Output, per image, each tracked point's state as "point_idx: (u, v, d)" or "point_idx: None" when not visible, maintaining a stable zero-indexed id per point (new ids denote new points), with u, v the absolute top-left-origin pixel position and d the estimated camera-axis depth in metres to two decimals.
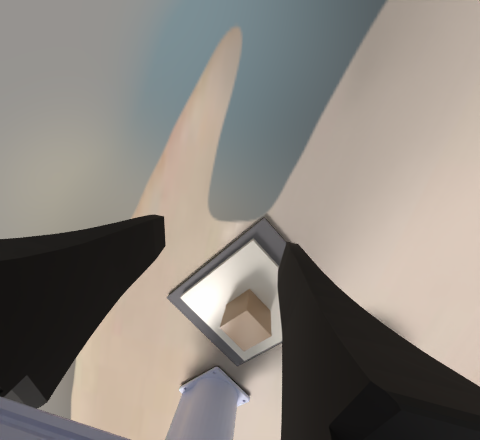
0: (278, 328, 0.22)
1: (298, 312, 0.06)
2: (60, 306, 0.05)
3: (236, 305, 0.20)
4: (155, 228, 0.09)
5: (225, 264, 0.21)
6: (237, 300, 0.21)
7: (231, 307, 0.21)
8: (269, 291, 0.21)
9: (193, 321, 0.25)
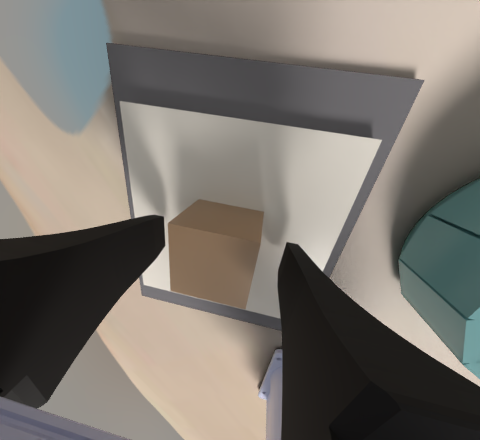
0: (305, 234, 0.10)
1: (298, 312, 0.06)
2: (60, 306, 0.05)
3: None
4: (155, 228, 0.09)
5: (134, 188, 0.11)
6: None
7: None
8: (230, 176, 0.10)
9: (194, 306, 0.16)
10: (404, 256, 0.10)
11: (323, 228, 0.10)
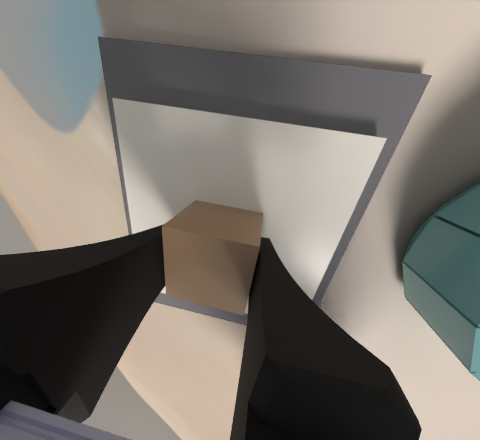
0: (306, 236, 0.10)
1: (254, 302, 0.06)
2: (105, 318, 0.05)
3: None
4: None
5: (129, 188, 0.10)
6: None
7: None
8: (228, 176, 0.09)
9: (192, 309, 0.15)
10: (408, 259, 0.10)
11: (325, 230, 0.10)
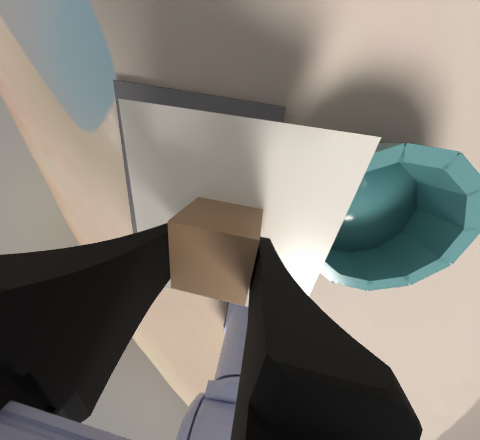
0: (304, 232, 0.10)
1: (255, 302, 0.06)
2: (105, 318, 0.05)
3: None
4: None
5: (134, 186, 0.11)
6: None
7: None
8: (229, 173, 0.10)
9: None
10: None
11: (322, 225, 0.10)
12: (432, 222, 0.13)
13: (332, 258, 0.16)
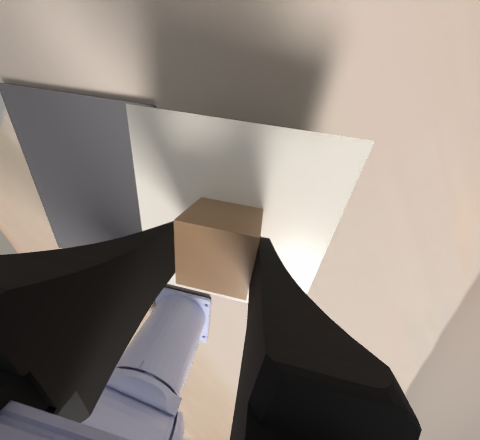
0: (302, 230, 0.11)
1: (254, 302, 0.06)
2: (105, 318, 0.05)
3: None
4: None
5: (139, 186, 0.11)
6: None
7: None
8: (231, 175, 0.10)
9: None
10: None
11: (320, 224, 0.10)
12: None
13: None
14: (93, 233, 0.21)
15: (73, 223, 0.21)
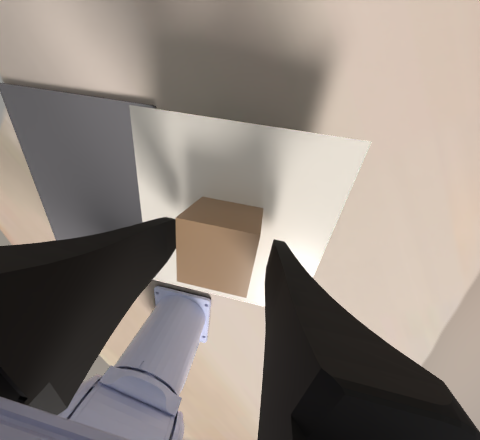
0: (302, 229, 0.11)
1: (278, 307, 0.06)
2: (81, 312, 0.05)
3: None
4: (167, 231, 0.09)
5: (141, 186, 0.12)
6: None
7: None
8: (231, 174, 0.10)
9: None
10: None
11: (319, 223, 0.11)
12: None
13: None
14: (93, 233, 0.21)
15: (73, 223, 0.21)
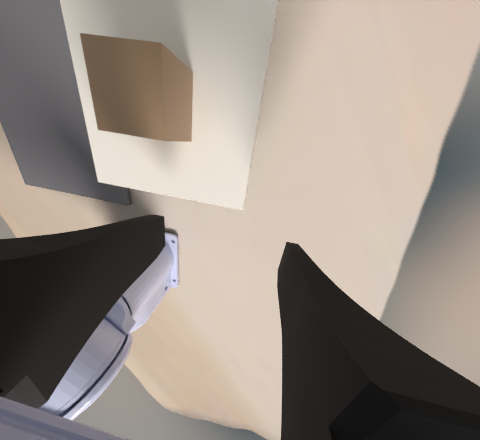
0: (232, 96, 0.11)
1: (298, 312, 0.06)
2: (60, 306, 0.05)
3: None
4: (155, 228, 0.09)
5: (75, 58, 0.11)
6: None
7: None
8: (157, 31, 0.10)
9: (59, 188, 0.22)
10: None
11: (247, 85, 0.11)
12: None
13: None
14: (57, 164, 0.21)
15: (36, 153, 0.21)
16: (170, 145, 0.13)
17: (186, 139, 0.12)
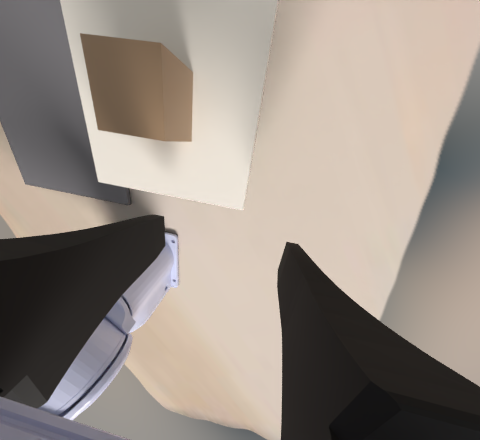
0: (233, 96, 0.11)
1: (298, 312, 0.06)
2: (60, 306, 0.05)
3: None
4: (155, 228, 0.09)
5: (75, 58, 0.11)
6: None
7: None
8: (157, 31, 0.10)
9: (59, 188, 0.22)
10: None
11: (247, 85, 0.11)
12: None
13: None
14: (57, 164, 0.21)
15: (36, 153, 0.21)
16: (170, 145, 0.13)
17: (186, 140, 0.12)
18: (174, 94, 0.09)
